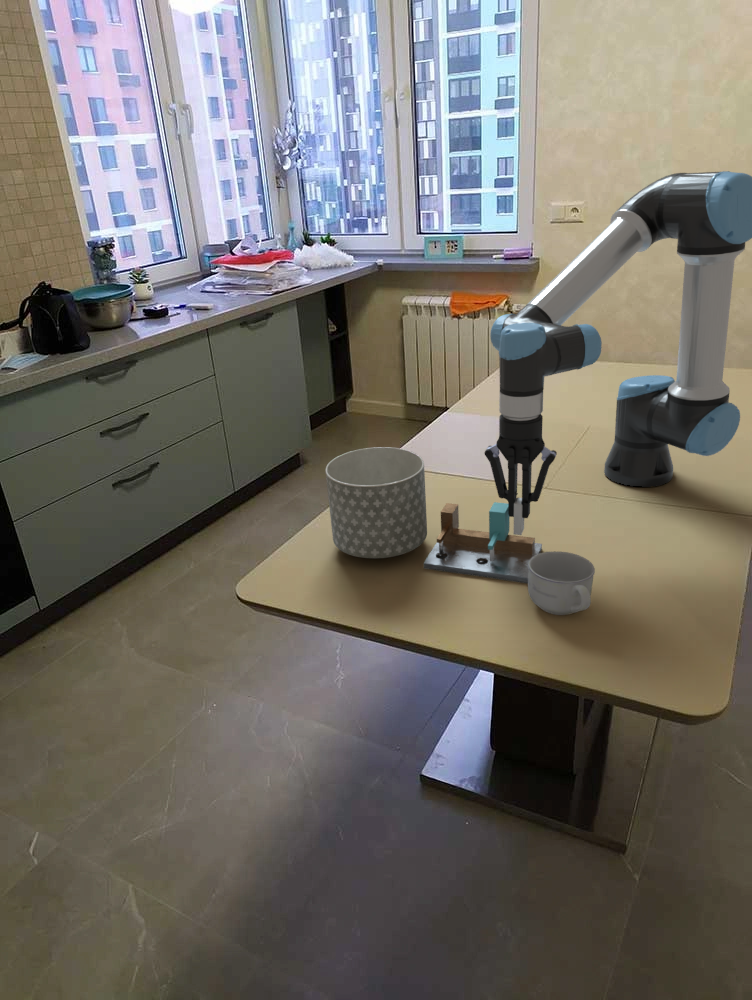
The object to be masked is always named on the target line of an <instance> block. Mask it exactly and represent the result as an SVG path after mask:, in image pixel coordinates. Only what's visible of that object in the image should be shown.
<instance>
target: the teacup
mask: <svg viewBox="0 0 752 1000" xmlns="http://www.w3.org/2000/svg"><path fill="white" fill-rule="evenodd" d="M528 567H529V572H528V583H527V590H528V596H529V598H530V599H531V601H532V602H533V604H535V605H536V606H538V607H539V608H540V609H541V610H543V611H544V612H546V613H548V614H551V615H556V616H565V615H566V616H567V615H571V614H573V613H578V612H581V611H585V610H587V609H589V607H590V605H591V603H592V601H591V599H592V598H591V595H592V594H591V593H592V589H593V582H594V575H595V572H596V568H595V565H594V564H593V562H592V561H590V560H589V559H587V558H585V557H584V556H582V555H579V554H576V553H573V552H568V551H567V552H566V551H545V552H541V553H540V554H537V555H535V556H533V557H532V558H531V559H530V560H529V563H528Z"/></svg>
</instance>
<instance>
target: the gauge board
mask: <svg viewBox="0 0 752 1000" xmlns="http://www.w3.org/2000/svg"><path fill="white" fill-rule="evenodd" d="M459 518H460V517H459V504H458V503H450V502H447V503H445V505H444V506H443V508H442V509H441V510H440V529H441V530H440V533H439V534H438V536H437V538H436V543H435V544H434V546H433V548H432V549H431V551H430V552H429V554H428V555H427V557H426V559H425V560H424V561H423V569H426V570H430V571H431V570H432V571H439V572H446V573H452V574H461V575H466V576H472V577H473V576H475V577H481V578H486V579H494V580H495V579H496V580H501V581H508V582H516V583H523V584H528V572H529V567H528V563H529V560H530V559H531V558H532V557H533V556H535V555H537V554H540V553H542V550H543V543H538V542H536V541H535V540H536V538H535V537H531V536H523V535H514V534H508V535H507V537H506V539H505V541H500V540H497V541H496V543H495V545H494V561H490V550H489V549H488V545H489V543H490V541H491V539H489V531H482V530H481V531H480V530H473V529H465V528H459V527H460V525H459V524H460V520H459Z"/></svg>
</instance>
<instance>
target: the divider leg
mask: <svg viewBox="0 0 752 1000" xmlns="http://www.w3.org/2000/svg"><path fill="white" fill-rule="evenodd" d="M488 522H489V523H488V525H489V526H488V532H489V539H491V541H490V543H489V545H488V549H489V550H490V561H494V545H495V543H496V541H497V540H500V541H505V539H506V537H507V535H509V534H510V517H509V514H508V503H506V502H496V501H495V502H493V504H492V505H491V507H490V509H489V511H488Z"/></svg>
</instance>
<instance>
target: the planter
mask: <svg viewBox="0 0 752 1000" xmlns="http://www.w3.org/2000/svg"><path fill="white" fill-rule="evenodd" d="M325 480H326V487H327V498H328V505H329V515H330V516H329V517H330V523H331V533H332V534H331V535H332V540H333V545H334V546H336V548H338V550H339V551H341V552H343V553H344V554H347V555H349V556H353V557H357V558H363V559H364V558H365V559H386V558H392V557H398V556H401V555H404V554H407V553H410V552H412V551H414V550H415V549H417V548H418V547H420V546H421V545H422V544H423V543H424V542H425V541H426V539H427V535H428V521H427V519H428V518H427V501H426V500H427V499H426V496H427V495H426V473H425V462H424V459H423V458H422V457H421V455H419V454H417V453H416V452H413V451H411V450H408V449H403V448H399V447H389V446H388V447H385V446H382V447H381V446H378V447H377V446H375V447H367V448H366V447H365V448H359V449H356V450H351V451H347V452H345V453H343V454H341V455H338V456H335V458H333V459H332V460H330V461H329V462H328V463H327V465H326V466H325Z"/></svg>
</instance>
